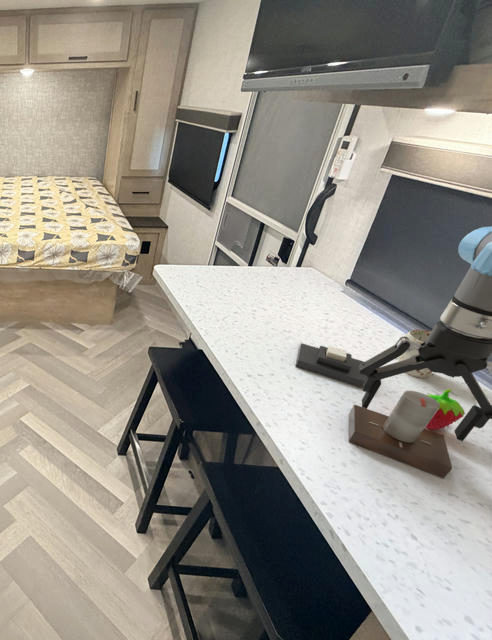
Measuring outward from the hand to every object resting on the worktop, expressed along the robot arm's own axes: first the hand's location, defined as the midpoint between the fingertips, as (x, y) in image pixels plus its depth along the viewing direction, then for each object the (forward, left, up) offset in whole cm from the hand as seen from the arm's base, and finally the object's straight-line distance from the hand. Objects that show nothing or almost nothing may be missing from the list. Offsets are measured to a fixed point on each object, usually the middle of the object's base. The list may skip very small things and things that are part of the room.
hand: (408, 419), depth 78 cm
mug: (-5, -37, -7) cm, 38 cm away
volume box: (0, 0, -7) cm, 7 cm away
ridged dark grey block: (+11, -23, -7) cm, 26 cm away
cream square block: (+11, -23, -3) cm, 26 cm away
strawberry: (-6, -11, -7) cm, 14 cm away
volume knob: (0, 0, -4) cm, 4 cm away
